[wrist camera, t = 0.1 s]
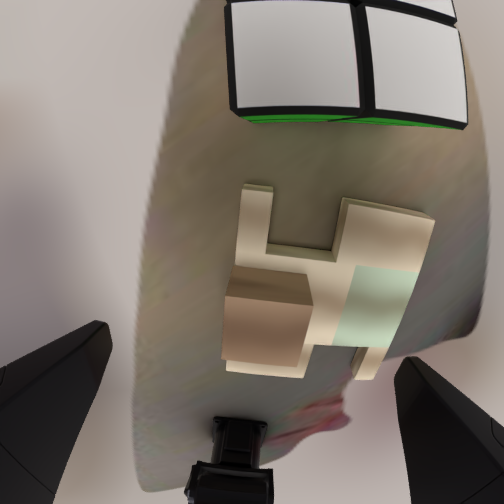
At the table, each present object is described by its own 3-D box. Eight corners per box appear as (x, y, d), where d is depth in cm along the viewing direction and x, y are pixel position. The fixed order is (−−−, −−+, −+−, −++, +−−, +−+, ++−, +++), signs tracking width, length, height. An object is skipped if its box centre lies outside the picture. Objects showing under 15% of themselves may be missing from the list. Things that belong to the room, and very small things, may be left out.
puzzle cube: (377, 3, 14) (437, -55, 5) (389, 125, 18) (473, 132, 9) (240, -3, 15) (218, -81, 6) (249, 123, 19) (229, 118, 10)
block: (293, 331, 23) (296, 367, 19) (228, 324, 23) (221, 359, 19) (307, 274, 21) (313, 305, 17) (233, 265, 21) (225, 295, 17)
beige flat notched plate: (368, 365, 27) (372, 379, 25) (228, 355, 27) (226, 370, 25) (423, 212, 20) (435, 220, 18) (244, 183, 20) (242, 189, 19)
